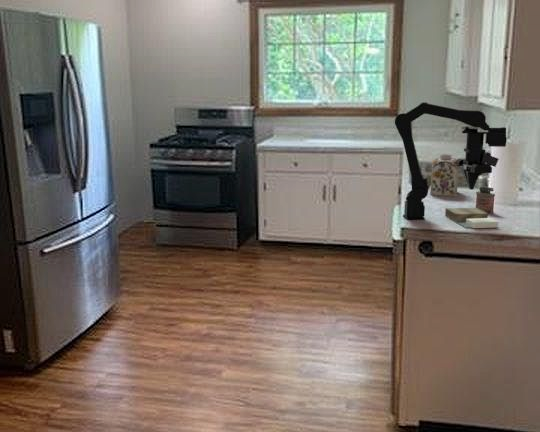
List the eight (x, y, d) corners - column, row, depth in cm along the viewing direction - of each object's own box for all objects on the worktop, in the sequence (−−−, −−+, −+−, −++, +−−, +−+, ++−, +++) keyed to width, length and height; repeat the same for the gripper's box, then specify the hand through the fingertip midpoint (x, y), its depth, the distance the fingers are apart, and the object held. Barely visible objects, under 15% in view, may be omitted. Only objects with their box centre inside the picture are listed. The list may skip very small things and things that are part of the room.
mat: (465, 228, 205) (465, 227, 205) (455, 222, 213) (455, 221, 213) (498, 227, 206) (498, 226, 205) (487, 221, 214) (487, 220, 214)
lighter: (472, 210, 233) (474, 185, 231) (478, 209, 235) (480, 184, 232) (489, 214, 226) (491, 188, 224) (495, 213, 228) (497, 187, 226)
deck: (455, 222, 213) (455, 214, 213) (445, 216, 223) (445, 208, 222) (487, 221, 214) (487, 213, 214) (475, 215, 224) (476, 207, 223)
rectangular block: (466, 218, 209) (465, 224, 209) (473, 222, 203) (473, 228, 203) (490, 217, 210) (489, 223, 210) (498, 221, 204) (497, 227, 204)
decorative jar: (456, 197, 260) (459, 156, 256) (429, 195, 263) (431, 155, 259) (457, 192, 271) (459, 153, 267) (431, 191, 274) (433, 152, 270)
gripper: (508, 148, 200) (504, 193, 204) (485, 143, 218) (482, 184, 222) (476, 149, 199) (473, 194, 203) (456, 143, 218) (453, 185, 221)
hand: (471, 189), depth 212 cm, fingers closed
